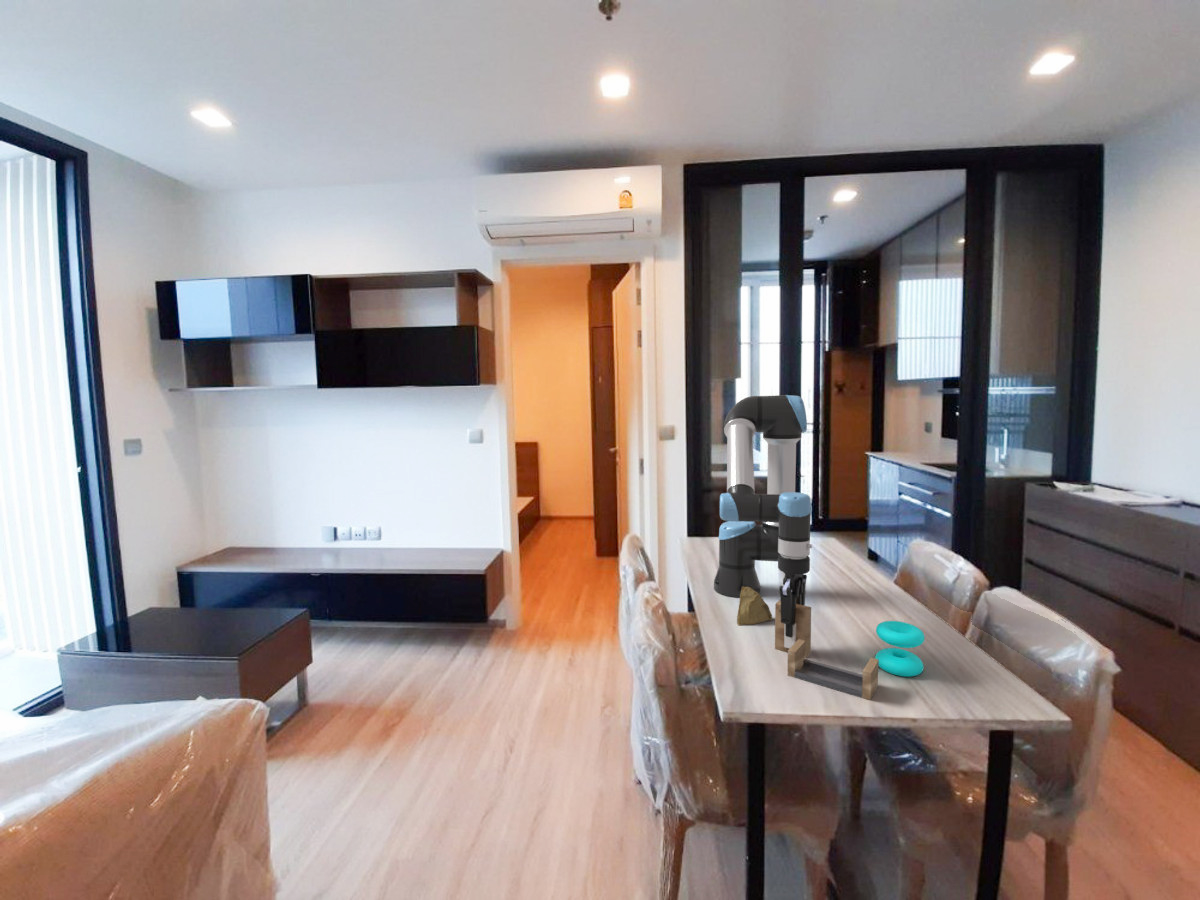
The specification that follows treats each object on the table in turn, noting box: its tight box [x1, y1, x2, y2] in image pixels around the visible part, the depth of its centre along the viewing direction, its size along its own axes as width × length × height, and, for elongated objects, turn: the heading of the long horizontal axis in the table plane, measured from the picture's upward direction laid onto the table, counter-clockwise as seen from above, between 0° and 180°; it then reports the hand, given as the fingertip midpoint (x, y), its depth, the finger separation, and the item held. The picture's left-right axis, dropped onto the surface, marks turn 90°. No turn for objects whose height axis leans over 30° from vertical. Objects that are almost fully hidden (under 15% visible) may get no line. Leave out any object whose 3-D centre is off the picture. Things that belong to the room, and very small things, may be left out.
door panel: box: [774, 599, 812, 659], centre depth 137 cm, size 8×3×12 cm, turn 52°
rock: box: [736, 586, 773, 626], centre depth 156 cm, size 11×9×10 cm
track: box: [794, 658, 863, 699], centre depth 123 cm, size 14×7×2 cm, turn 52°
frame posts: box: [787, 639, 880, 701], centre depth 123 cm, size 18×7×6 cm, turn 52°
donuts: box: [874, 620, 925, 678], centre depth 128 cm, size 10×10×10 cm
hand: (792, 645), depth 138 cm, fingers closed on door panel, 3 cm apart
